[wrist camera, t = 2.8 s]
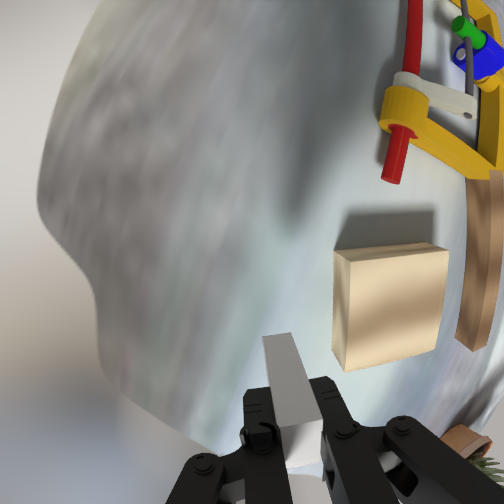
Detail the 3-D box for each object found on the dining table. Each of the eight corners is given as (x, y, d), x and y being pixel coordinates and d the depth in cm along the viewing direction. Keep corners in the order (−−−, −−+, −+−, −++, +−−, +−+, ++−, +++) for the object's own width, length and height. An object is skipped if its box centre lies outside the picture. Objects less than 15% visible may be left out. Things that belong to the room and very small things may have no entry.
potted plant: (466, 436, 30) (526, 518, 6) (423, 463, 30) (476, 558, 6) (476, 403, 28) (554, 495, 4) (429, 434, 28) (500, 546, 4)
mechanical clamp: (401, 168, 14) (415, -68, 8) (358, 172, 20) (393, -43, 14) (531, 252, 16) (528, 25, 10) (491, 239, 22) (501, 35, 16)
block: (331, 249, 22) (350, 262, 18) (422, 241, 22) (449, 250, 18) (330, 347, 24) (344, 372, 20) (413, 330, 24) (434, 349, 20)
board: (464, 170, 21) (488, 169, 17) (478, 170, 21) (502, 170, 17) (454, 337, 24) (472, 352, 21) (468, 332, 24) (486, 345, 21)
